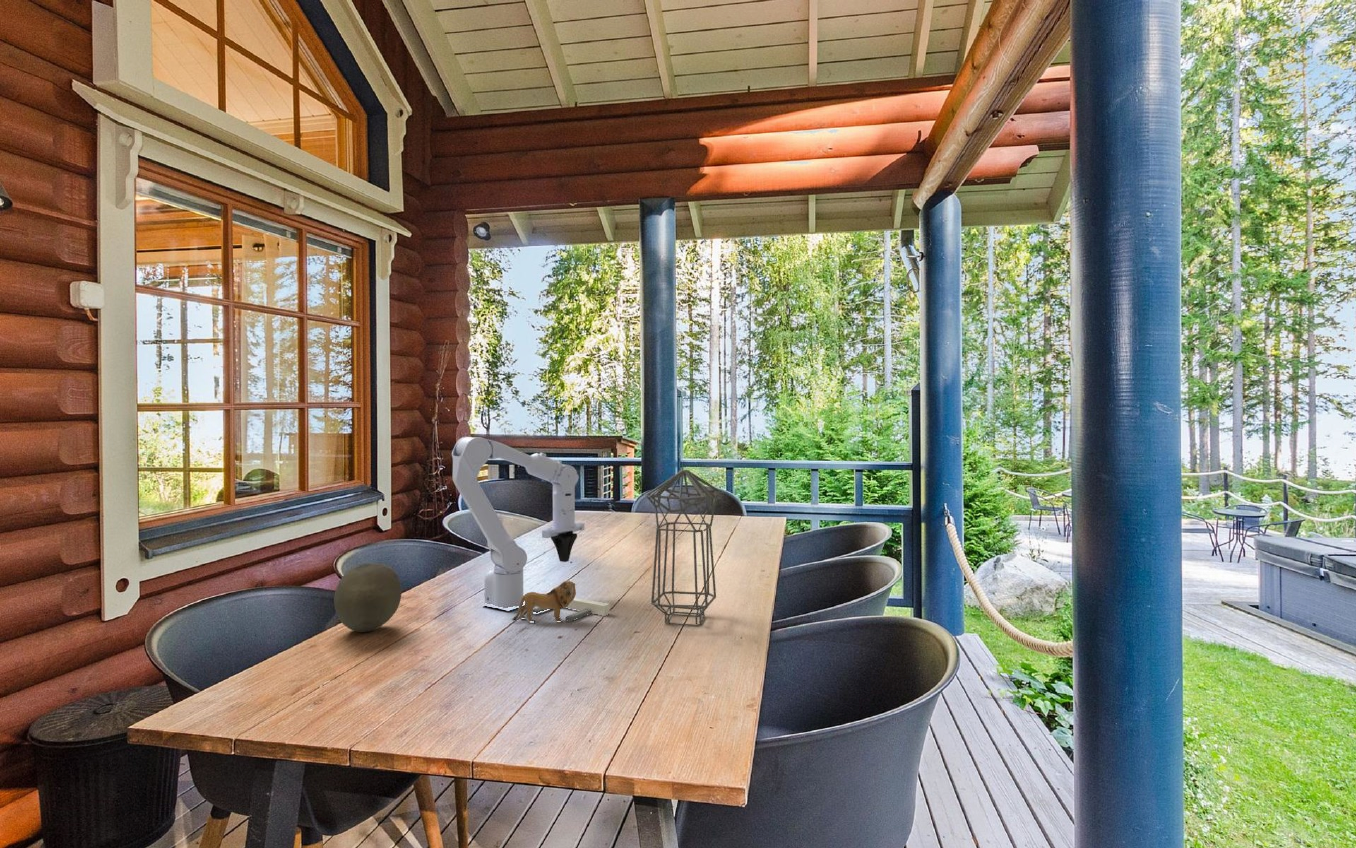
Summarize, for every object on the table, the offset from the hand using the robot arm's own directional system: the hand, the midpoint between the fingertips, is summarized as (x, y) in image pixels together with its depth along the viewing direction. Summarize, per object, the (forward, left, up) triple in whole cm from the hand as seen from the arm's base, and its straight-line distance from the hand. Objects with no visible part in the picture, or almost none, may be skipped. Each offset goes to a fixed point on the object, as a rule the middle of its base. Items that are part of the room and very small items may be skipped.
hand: (564, 561), depth 176 cm
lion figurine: (+10, -18, -10) cm, 22 cm away
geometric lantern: (+38, -1, -10) cm, 39 cm away
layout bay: (+10, -12, -9) cm, 18 cm away
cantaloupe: (-18, -44, -10) cm, 49 cm away
